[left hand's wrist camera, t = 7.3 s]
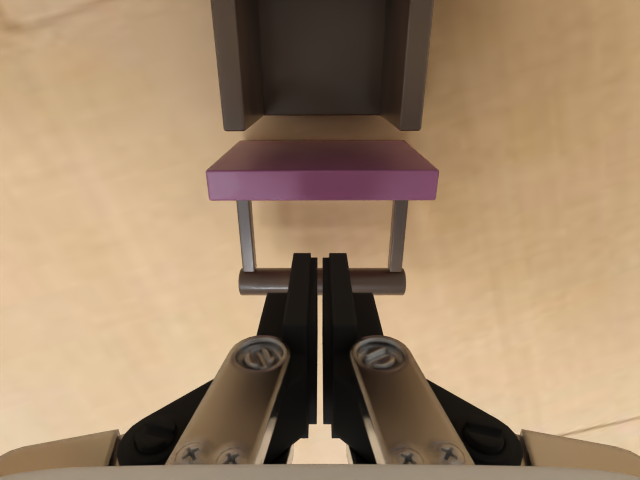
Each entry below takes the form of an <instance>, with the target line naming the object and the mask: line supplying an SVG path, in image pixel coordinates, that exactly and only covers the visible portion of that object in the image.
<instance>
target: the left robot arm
mask: <svg viewBox="0 0 640 480" xmlns="http://www.w3.org/2000/svg"><path fill="white" fill-rule="evenodd" d="M317 336H318V326H317V258H311V253H294V254H293V261H292V267H291V273H290V280H289V286H288V292H268V293H267V296H266V300H265V304H264V308H263V312H262V316H261V320H260V324H259V328H258V332H257V336H253V337H249V338H246V339H244V340H242V341H240V342H239V343H237V344H236V345H235V346H234V347H233V348H232V349H231V350H230V352H229V354H228V355H227V357H226V359H225V361H224V362H223V364H222V366H221V368H220V369H219V371H218V373H217V375H216V376H215V378H214V379H213V380H211V381H209V382H207V383H206V384H204V385H202V386H200V387H199V388H197V389H195V390H193V391H191V392H190V393H188V394H186V395H184V396H183V397H181V398H179V399H177V400H176V401H174V402H172V403H170V404H168V405H167V406H165V407H163V408H161V409H160V410H158V411H156V412H154V413H152V414H151V415H149V416H147V417H145V418H144V419H142V420H141V421H139V422H138V423H136V424H135V425H133V426H132V427H131V428H130V429H129V430H128V431H127V432H126V433H125V434H123V435H120V433H119V429H117V430H111V431H106V432H101V433H95V434H90V435H84V436H79V437H73V438H68V439H63V440H57V441H52V442H46V443H41V444H36V445H30V446H25V447H21V448H18V449H15V450H11V451H9V452H7V453H5V454H3V455H1V456H0V480H640V456H639V455H637V454H635V453H633V452H631V451H629V450H625V449H622V448H619V447H615V446H610V445H604V444H599V443H594V442H588V441H583V440H577V439H572V438H567V437H561V436H556V435H550V434H545V433H539V432H534V431H529V430H523V429H521V433H520V435H517V434H515V433H514V432H513V431H512V430H511V429H510V428H509V427H508V426H507V425H505V424H504V423H502V422H501V421H499V420H498V419H496V418H495V417H493V416H491V415H489V414H488V413H486V412H484V411H482V410H480V409H479V408H477V407H475V406H473V405H472V404H470V403H468V402H466V401H464V400H463V399H461V398H459V397H457V396H456V395H454V394H452V393H450V392H449V391H447V390H445V389H443V388H441V387H440V386H438V385H436V384H434V383H433V382H431V381H429V380H427V379H426V378H425V376H424V375H423V373H422V371H421V369H420V368H419V366H418V364H417V362H416V361H415V359H414V357H413V355H412V354H411V352H410V350H409V349H408V348H407V347H406V346H405V345H404V344H403V343H401V342H400V341H398V340H396V339H394V338H391V337H387V336H383V332H382V328H381V324H380V320H379V316H378V312H377V308H376V304H375V300H374V296H373V293H372V292H352V286H351V280H350V273H349V267H348V261H347V254H346V253H329V258H323V326H322V337H323V424H331V429H332V438H340V439H341V440H343V441H344V442H345V443H346V452H347V460H348V464H292V460H293V452H294V443H295V442H296V441H297V440H299V439H300V438H308V429H309V424H317Z"/></svg>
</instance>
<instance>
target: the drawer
mask: <svg viewBox="0 0 640 480" xmlns="http://www.w3.org/2000/svg"><path fill="white" fill-rule="evenodd" d="M433 4H434V0H211V9H212V18H213V28H214V38H215V48H216V58H217V67H218V77H219V87H220V97H221V107H222V116H223V126H224V130H225V131H245V130H246V129H247V128H249V127H250V126H251V125H252V124H254V123H255V122H256V121H257V120H259V119H260V118H261V117H262V116H264V115H381V116H382V117H384V118H385V119H386V120H387V121H389V122H390V123H391V124H393V125H394V126H395V127H396V128H398V129H399V130H401V131H419V130H420V129H421V123H422V113H423V103H424V93H425V83H426V73H427V63H428V54H429V44H430V34H431V24H432V14H433ZM438 176H439V170H438V169H437V168H436V167H434V166H433V165H432V164H431V163H430V162H429V161H427V160H426V159H425V158H424V157H423V156H422V155H420V154H419V153H418V152H417V151H416V150H415V149H414V148H412V147H411V146H410V145H409V144H408V143H407V142H405V141H404V140H332V141H239V142H238V143H237V144H236V145H235V146H234V147H232V148H231V149H230V150H229V151H228V152H227V153H226V154H224V155H223V156H222V157H221V158H220V159H219V160H218V161H217V162H215V163H214V164H213V165H212V166H211V167H210V168H209V169H207V170H206V177H207V185H208V193H209V199H210V200H211V201H215V200H236V202H237V212H238V222H239V233H240V243H241V254H242V264H243V268H242V269H241V270H240V274H239V291H240V294H241V295H267V293H268V292H288V286H289V280H290V273H291V268H256V253H255V241H254V228H253V216H252V203H251V200H393V208H392V221H391V233H390V246H389V259H388V268H349V273H350V280H351V286H352V292H372V293H373V295H404V293H405V289H406V276H405V271H404V269H403V268H402V260H403V250H404V239H405V229H406V218H407V208H408V200H435V199H436V192H437V184H438ZM317 295H323V268H317Z"/></svg>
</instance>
